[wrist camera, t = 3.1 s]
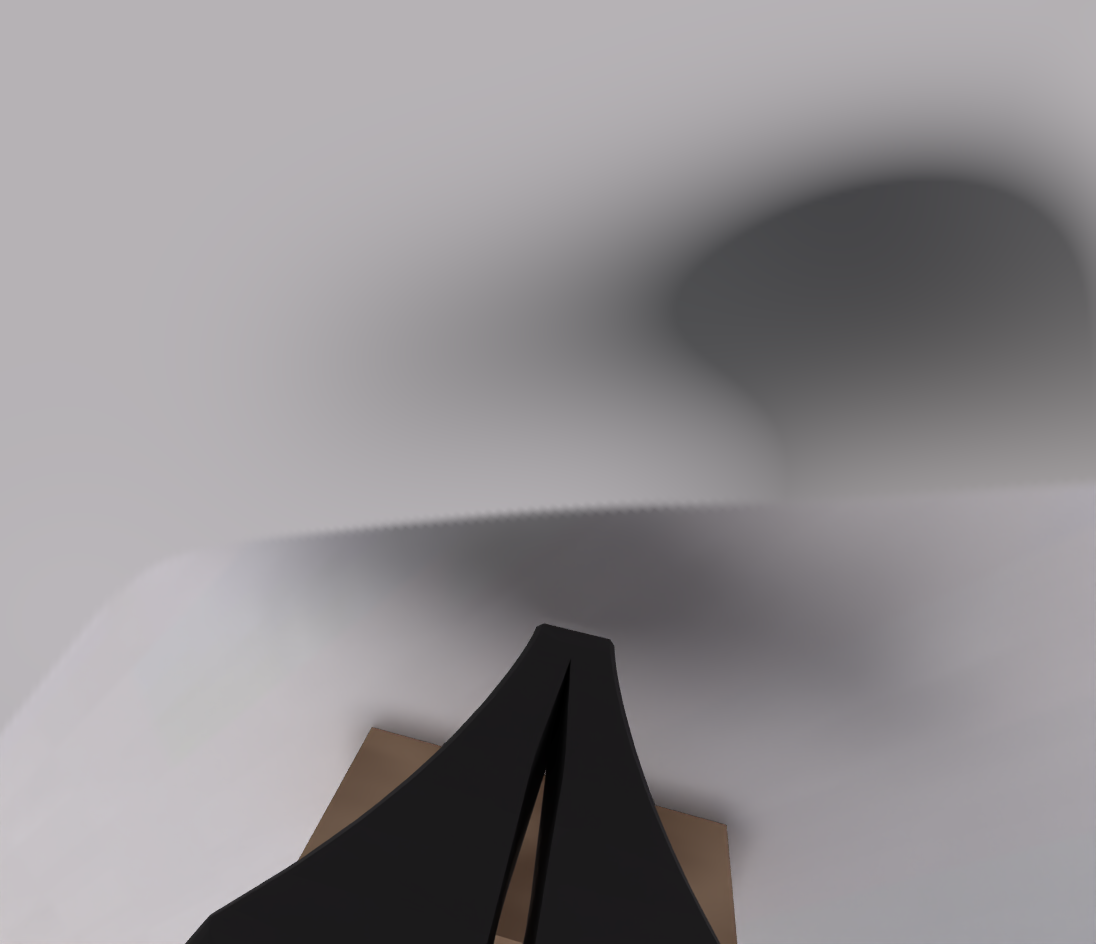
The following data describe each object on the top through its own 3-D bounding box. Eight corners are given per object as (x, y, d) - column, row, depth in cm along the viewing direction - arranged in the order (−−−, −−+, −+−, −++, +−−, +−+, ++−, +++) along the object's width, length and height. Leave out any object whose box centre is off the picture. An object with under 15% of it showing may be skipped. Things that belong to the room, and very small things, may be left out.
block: (725, 814, 15) (743, 1009, 12) (665, 950, 18) (663, 1143, 14) (376, 719, 16) (290, 872, 12) (367, 862, 19) (294, 1023, 15)
